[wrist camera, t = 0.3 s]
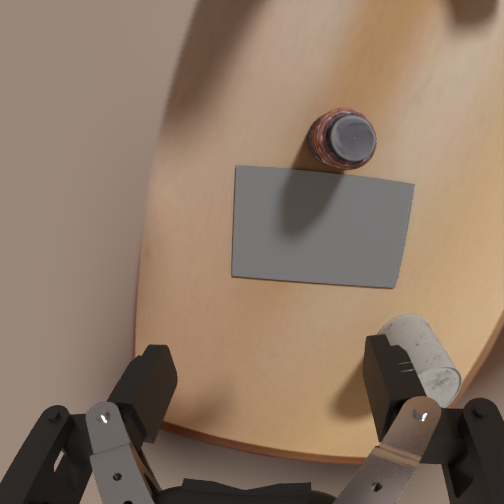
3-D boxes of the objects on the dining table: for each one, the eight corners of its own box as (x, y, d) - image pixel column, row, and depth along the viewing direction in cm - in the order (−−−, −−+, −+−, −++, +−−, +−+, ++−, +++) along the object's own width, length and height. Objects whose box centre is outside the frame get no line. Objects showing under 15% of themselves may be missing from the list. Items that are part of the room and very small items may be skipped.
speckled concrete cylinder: (434, 349, 43) (463, 399, 31) (382, 373, 45) (400, 429, 34) (424, 303, 41) (459, 353, 29) (366, 331, 43) (386, 388, 31)
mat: (236, 165, 37) (236, 165, 36) (413, 184, 35) (414, 184, 35) (232, 274, 42) (231, 275, 41) (394, 286, 40) (395, 287, 40)
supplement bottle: (325, 173, 36) (342, 187, 26) (296, 131, 35) (303, 127, 24) (365, 148, 35) (398, 151, 24) (338, 106, 33) (361, 91, 23)
